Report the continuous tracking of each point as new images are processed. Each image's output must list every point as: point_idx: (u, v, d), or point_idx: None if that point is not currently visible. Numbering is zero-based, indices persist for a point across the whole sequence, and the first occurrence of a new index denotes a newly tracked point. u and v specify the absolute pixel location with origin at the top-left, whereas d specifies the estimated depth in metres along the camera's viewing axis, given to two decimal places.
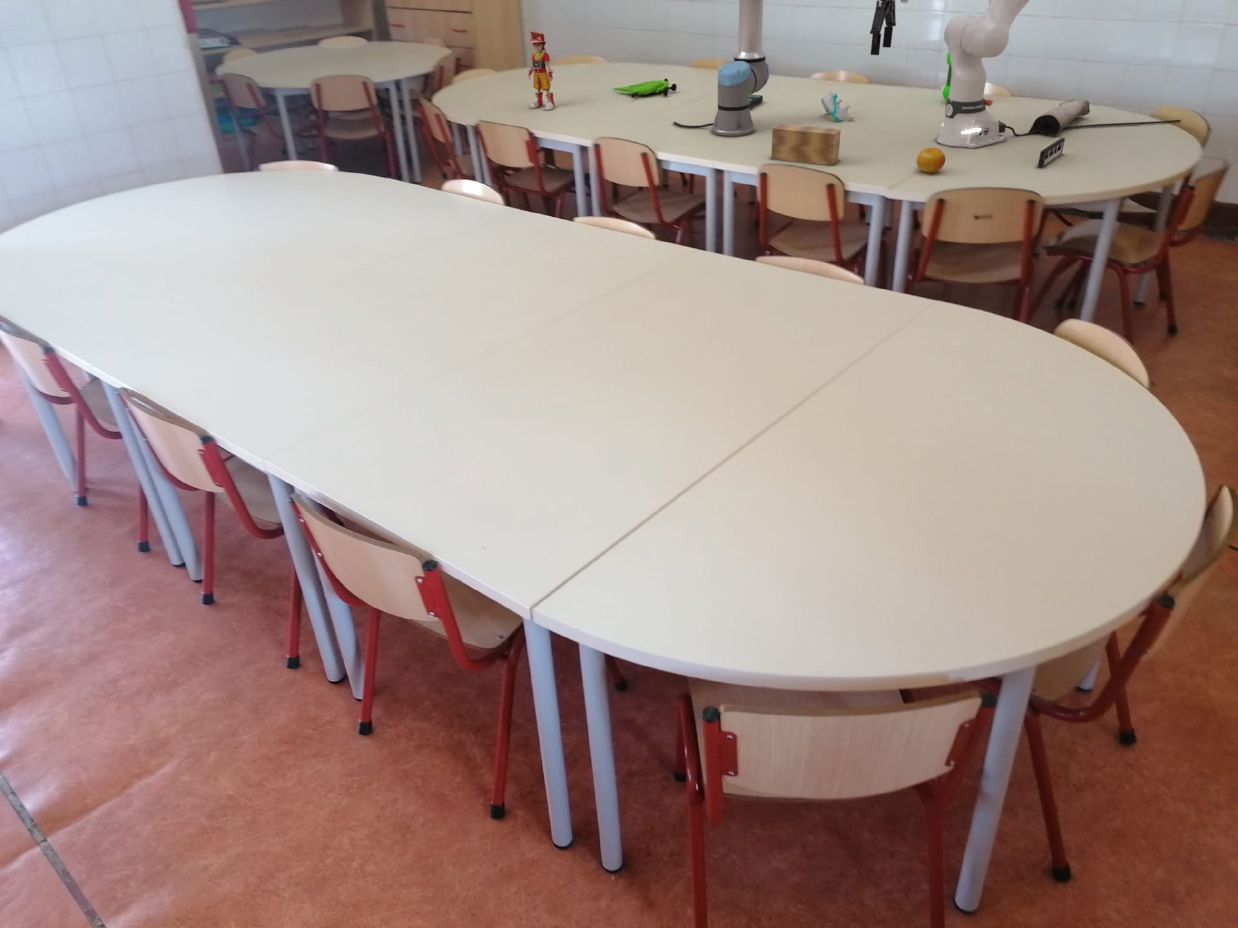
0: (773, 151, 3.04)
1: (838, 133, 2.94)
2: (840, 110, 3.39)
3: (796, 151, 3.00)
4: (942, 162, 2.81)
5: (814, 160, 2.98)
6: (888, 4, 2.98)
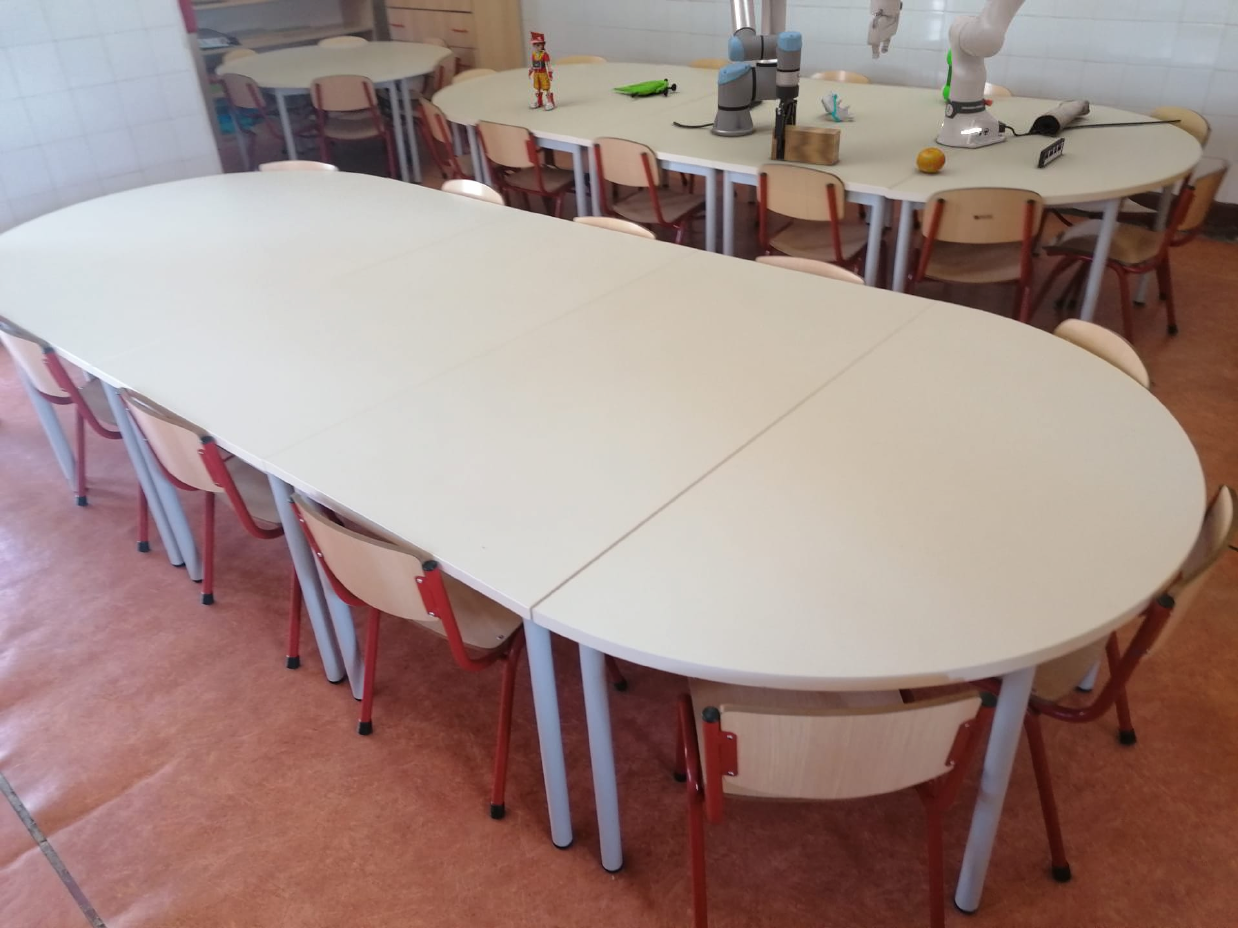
0: (773, 151, 3.04)
1: (838, 133, 2.94)
2: (840, 110, 3.39)
3: (796, 151, 3.00)
4: (942, 162, 2.81)
5: (814, 160, 2.98)
6: (788, 106, 2.95)
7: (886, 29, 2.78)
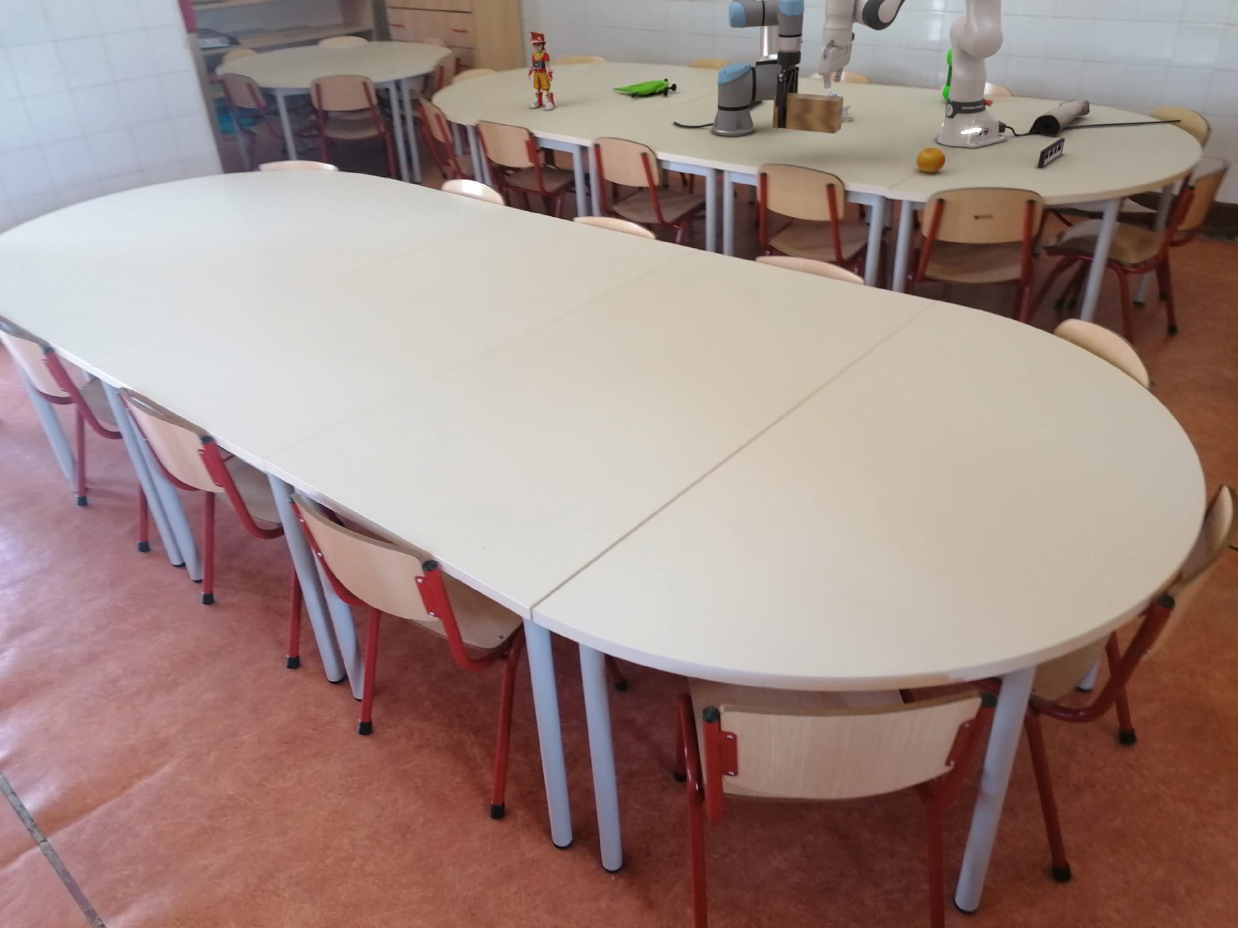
0: (774, 120, 2.98)
1: (841, 100, 2.88)
2: None
3: (797, 119, 2.94)
4: (942, 162, 2.81)
5: (816, 128, 2.93)
6: (790, 73, 2.89)
7: (837, 59, 2.79)
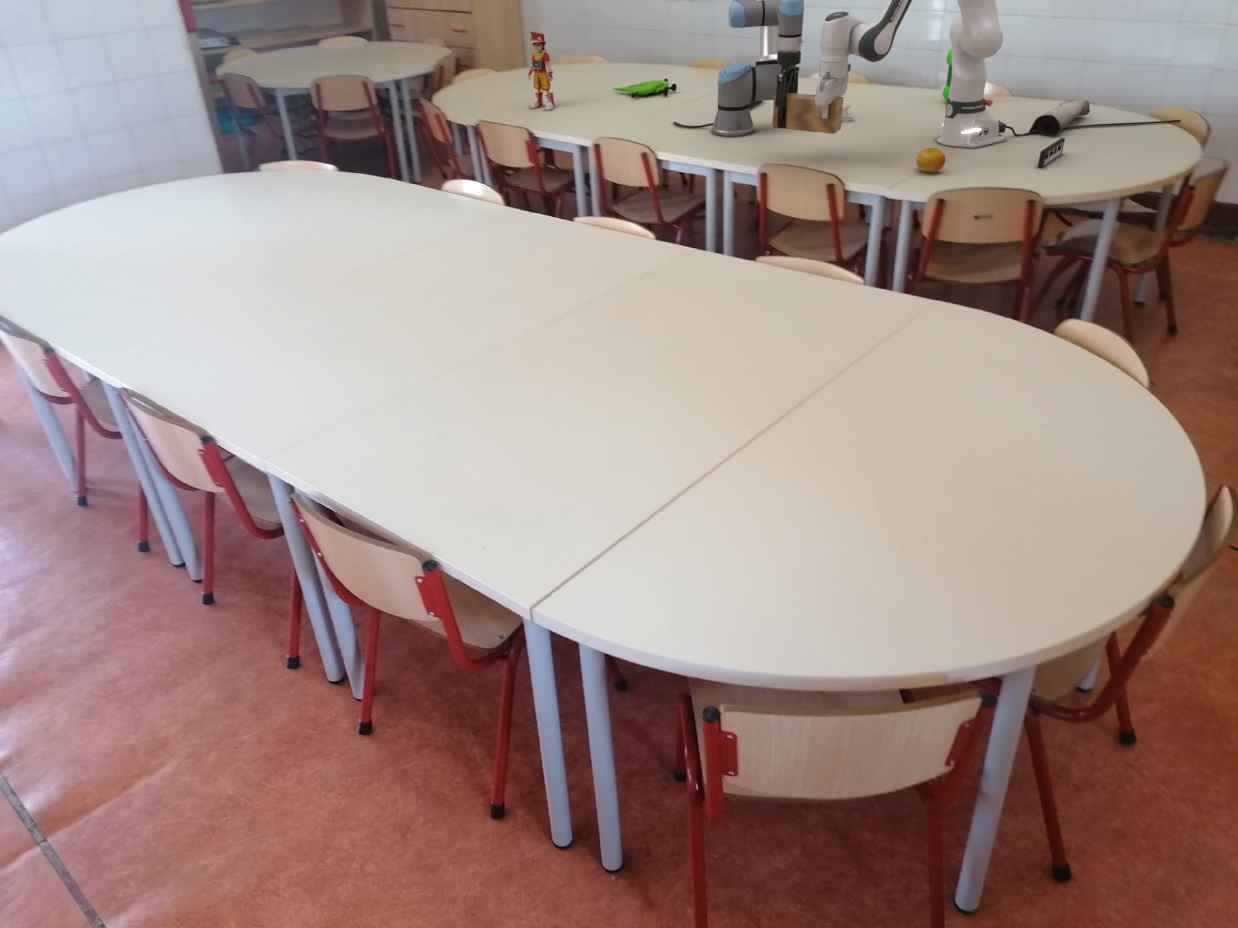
0: (774, 120, 2.98)
1: (841, 101, 2.88)
2: None
3: (797, 119, 2.94)
4: (942, 162, 2.81)
5: (816, 128, 2.93)
6: (790, 73, 2.89)
7: (833, 90, 2.84)
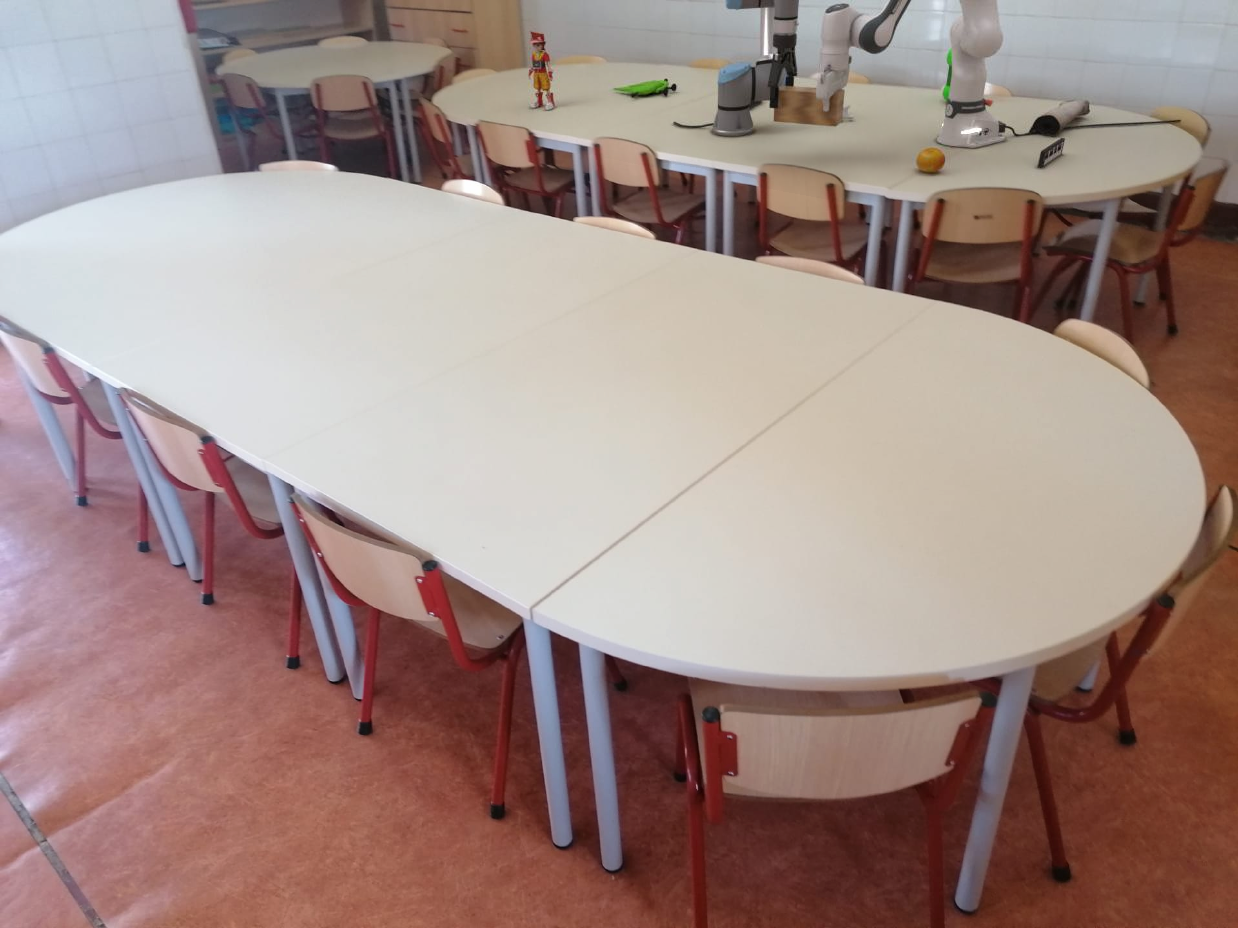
0: (775, 113, 2.97)
1: (842, 93, 2.87)
2: None
3: (798, 113, 2.93)
4: (942, 162, 2.81)
5: (817, 121, 2.91)
6: (785, 56, 2.87)
7: (834, 83, 2.83)
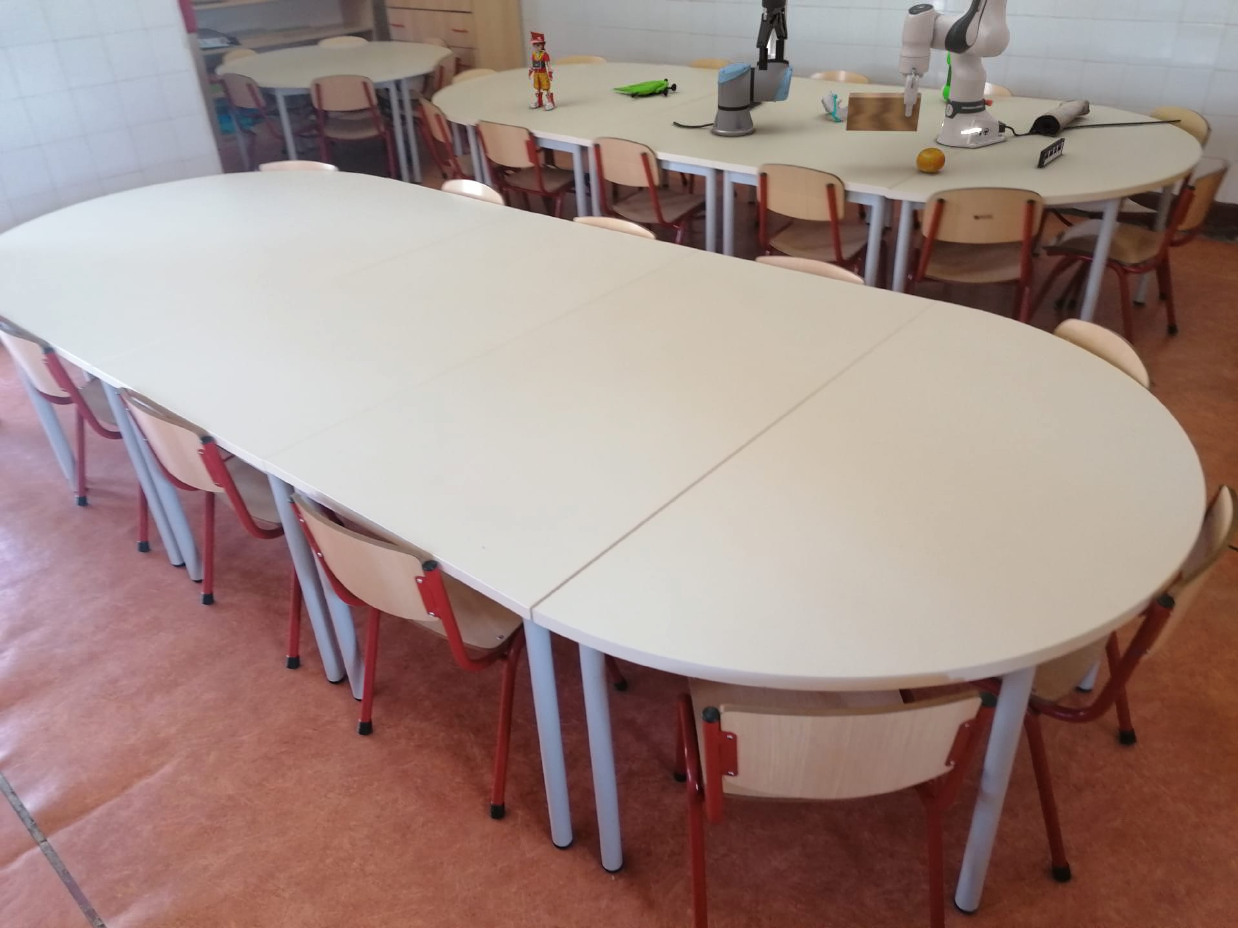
0: (848, 122, 2.82)
1: None
2: (840, 110, 3.39)
3: (875, 119, 2.79)
4: (942, 162, 2.81)
5: (896, 127, 2.79)
6: (775, 17, 2.82)
7: None
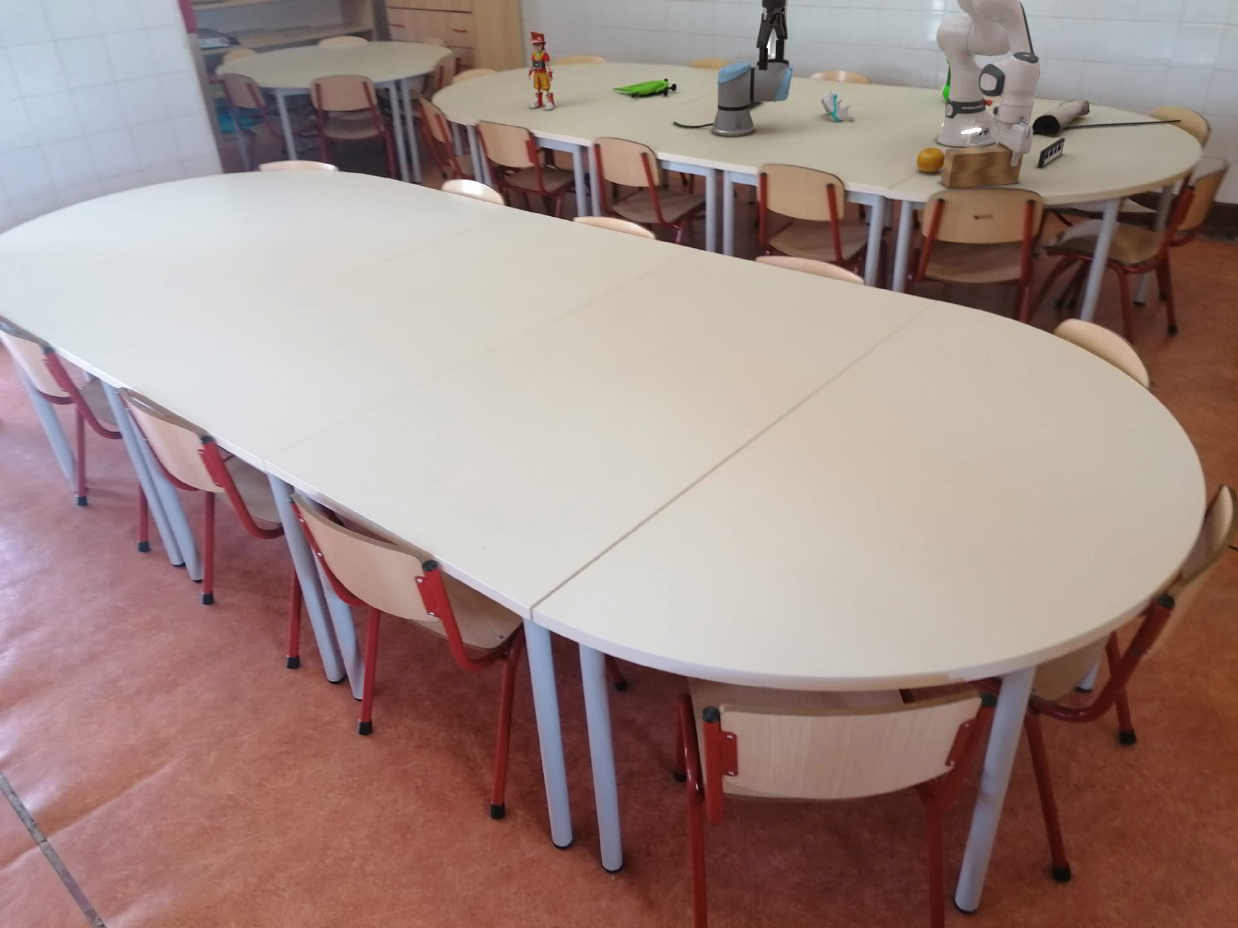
0: (951, 179, 2.70)
1: None
2: (840, 110, 3.39)
3: (978, 175, 2.70)
4: (942, 162, 2.81)
5: (998, 181, 2.71)
6: (775, 17, 2.82)
7: None
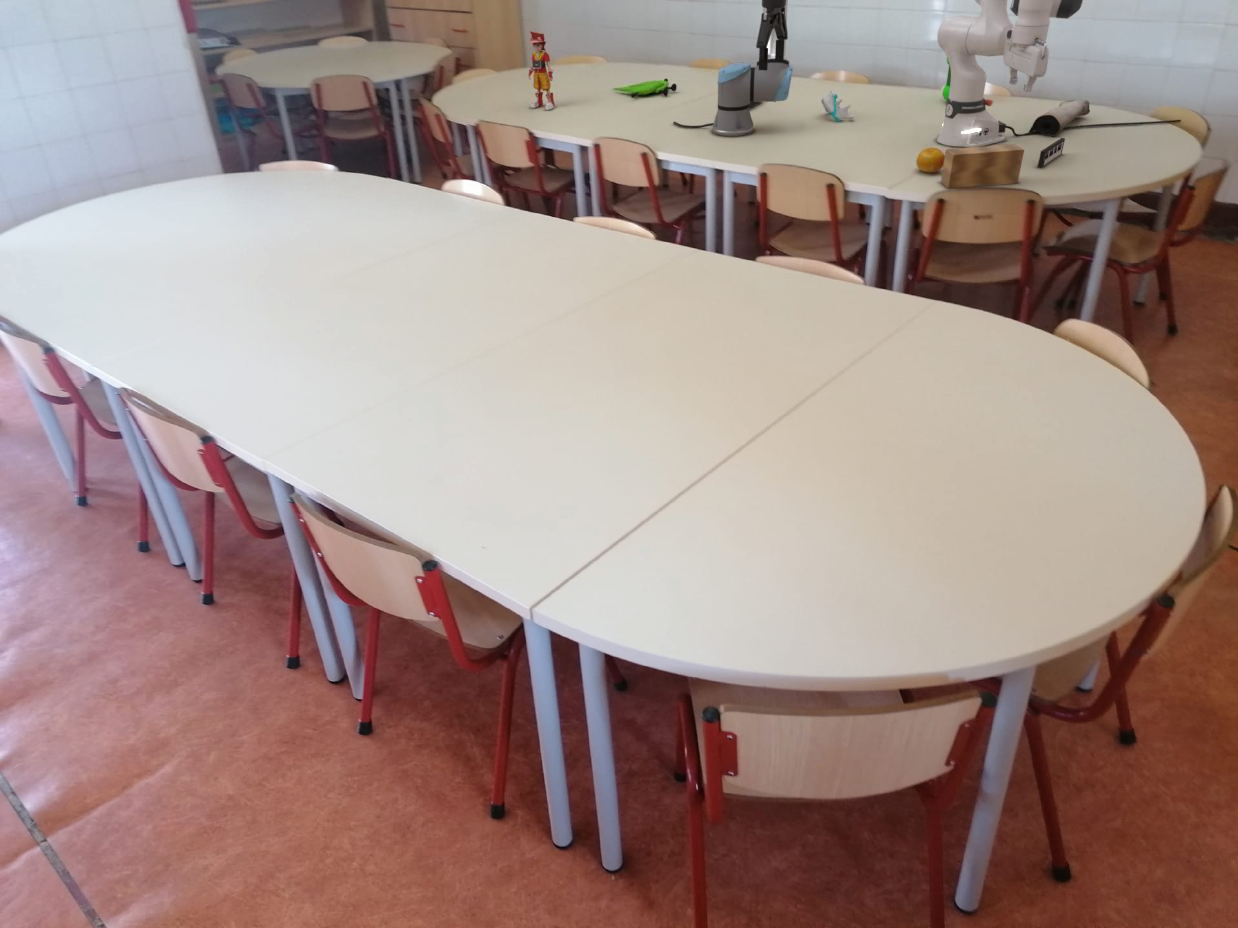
0: (951, 179, 2.70)
1: None
2: (840, 110, 3.39)
3: (978, 175, 2.70)
4: (942, 162, 2.81)
5: (998, 181, 2.71)
6: (775, 17, 2.82)
7: None
